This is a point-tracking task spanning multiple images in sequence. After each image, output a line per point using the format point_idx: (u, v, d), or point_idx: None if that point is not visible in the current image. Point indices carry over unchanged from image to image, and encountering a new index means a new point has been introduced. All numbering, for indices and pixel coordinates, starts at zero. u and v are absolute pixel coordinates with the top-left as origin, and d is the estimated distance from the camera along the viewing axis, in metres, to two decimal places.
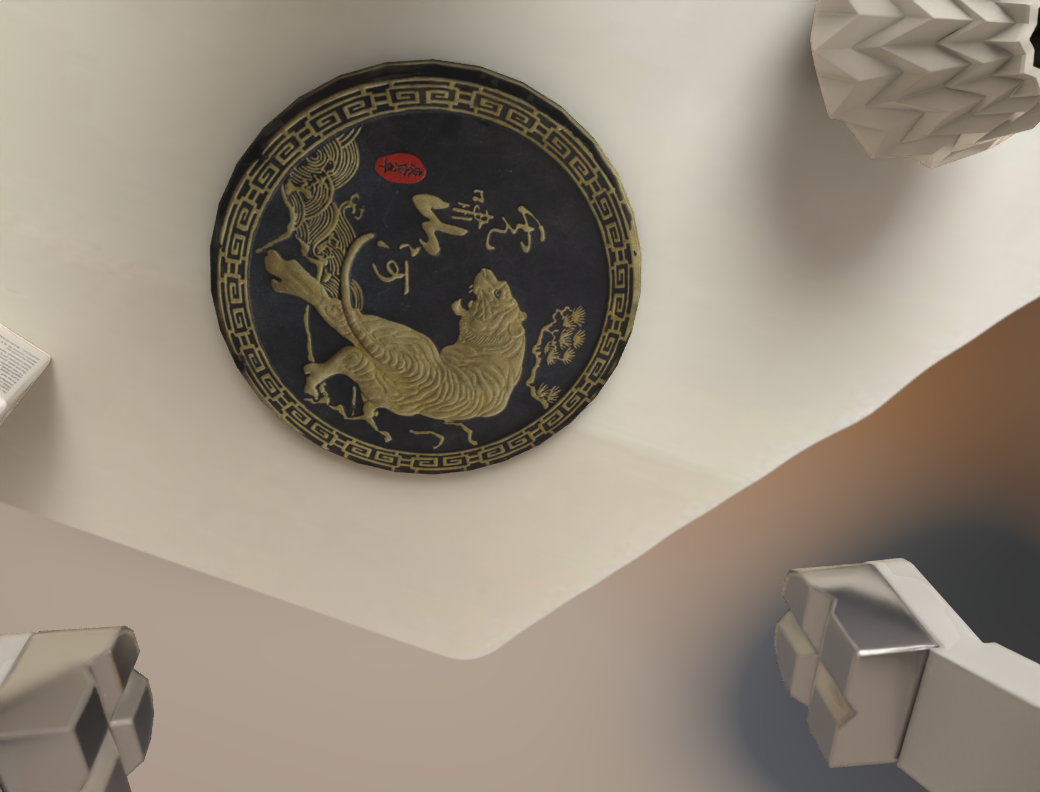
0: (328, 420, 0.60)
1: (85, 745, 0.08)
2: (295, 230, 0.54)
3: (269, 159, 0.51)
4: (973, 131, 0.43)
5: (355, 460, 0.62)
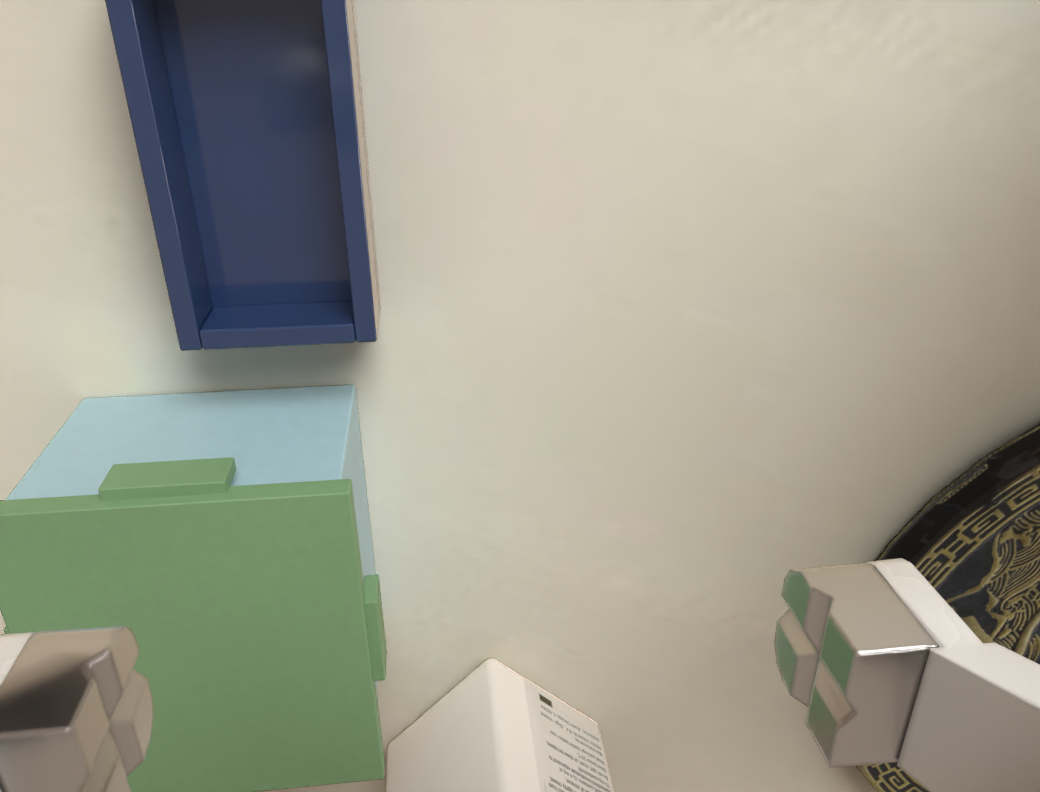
0: None
1: (85, 745, 0.08)
2: (989, 583, 0.38)
3: (998, 504, 0.36)
4: None
5: None
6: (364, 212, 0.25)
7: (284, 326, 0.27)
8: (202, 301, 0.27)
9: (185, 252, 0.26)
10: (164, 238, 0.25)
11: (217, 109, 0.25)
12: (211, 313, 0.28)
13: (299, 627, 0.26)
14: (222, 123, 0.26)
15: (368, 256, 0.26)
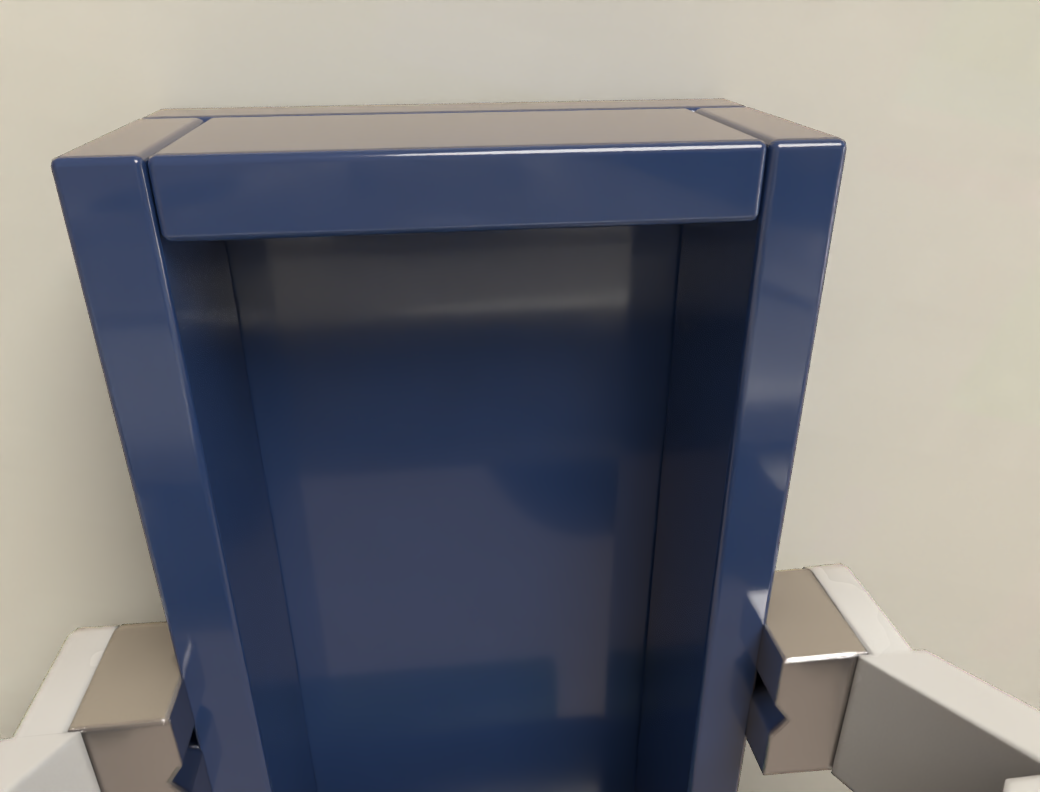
0: None
1: (179, 736, 0.08)
2: None
3: None
4: None
5: None
6: (740, 765, 0.10)
7: None
8: None
9: None
10: None
11: (373, 506, 0.10)
12: None
13: None
14: (381, 532, 0.11)
15: None
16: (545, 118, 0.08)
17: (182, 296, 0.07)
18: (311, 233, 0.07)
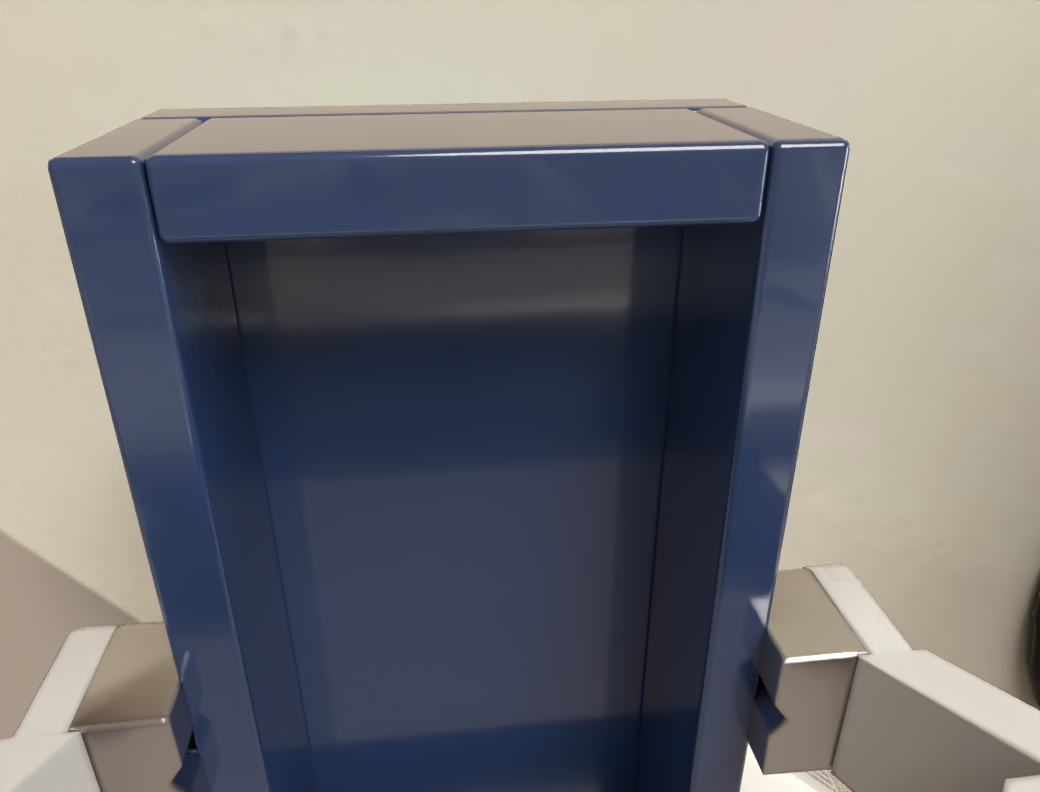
0: None
1: (179, 735, 0.08)
2: None
3: None
4: None
5: None
6: (742, 768, 0.10)
7: None
8: None
9: None
10: None
11: (373, 508, 0.10)
12: None
13: None
14: (381, 534, 0.11)
15: None
16: (546, 118, 0.08)
17: (181, 299, 0.07)
18: (310, 234, 0.07)
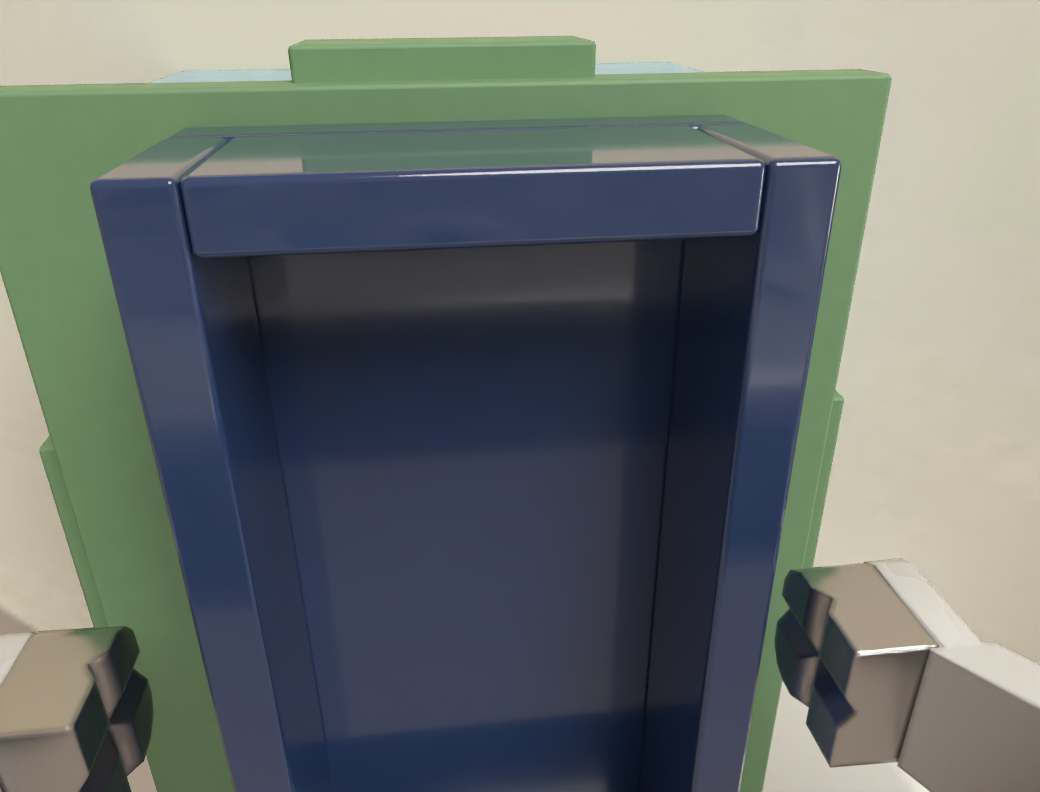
0: None
1: (85, 745, 0.08)
2: None
3: None
4: None
5: None
6: (743, 757, 0.11)
7: None
8: None
9: None
10: None
11: (387, 508, 0.11)
12: None
13: None
14: (395, 533, 0.11)
15: None
16: (554, 136, 0.08)
17: (210, 310, 0.07)
18: (334, 249, 0.07)
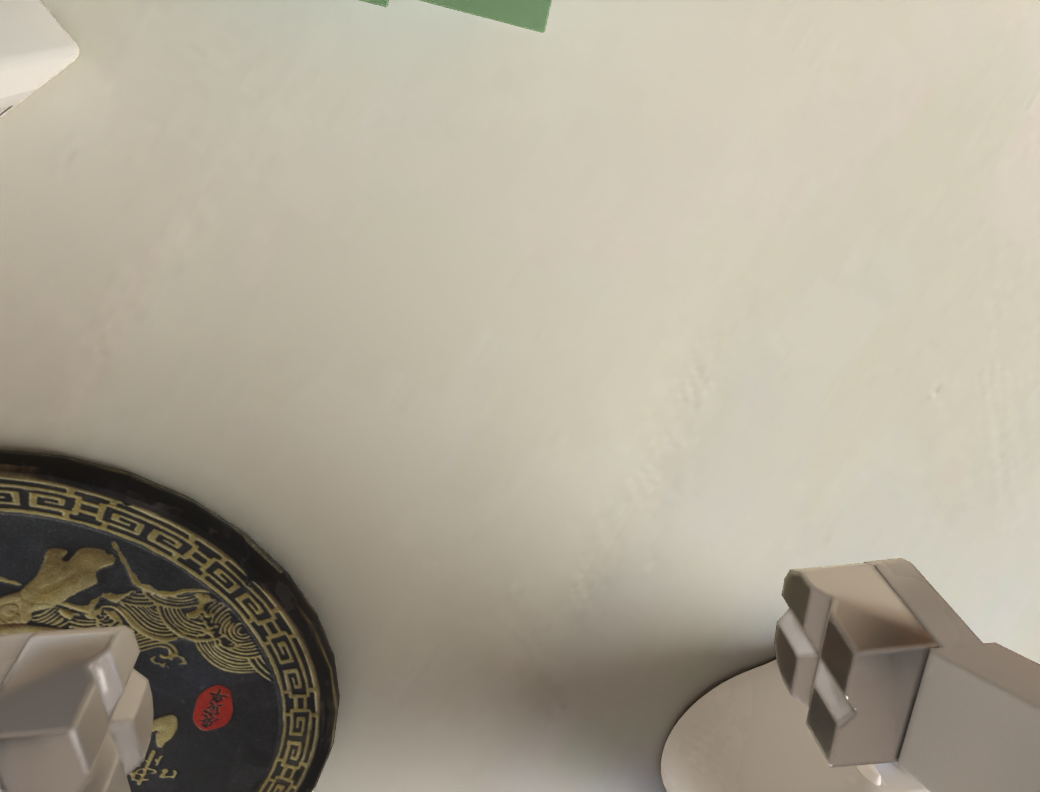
0: None
1: (85, 745, 0.08)
2: (142, 592, 0.38)
3: (244, 586, 0.39)
4: None
5: None
6: None
7: None
8: None
9: None
10: None
11: None
12: None
13: None
14: None
15: None
16: None
17: None
18: None
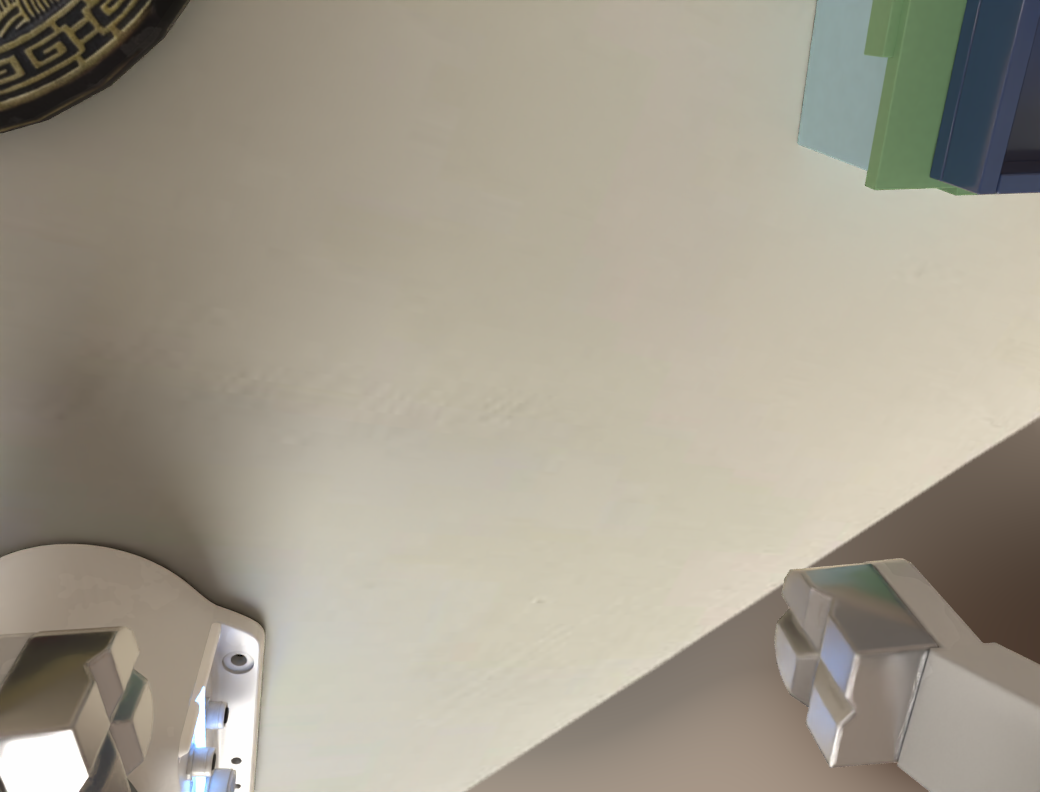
0: None
1: (85, 745, 0.08)
2: None
3: None
4: None
5: None
6: None
7: None
8: None
9: None
10: None
11: None
12: None
13: None
14: None
15: None
16: None
17: None
18: None
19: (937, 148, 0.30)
